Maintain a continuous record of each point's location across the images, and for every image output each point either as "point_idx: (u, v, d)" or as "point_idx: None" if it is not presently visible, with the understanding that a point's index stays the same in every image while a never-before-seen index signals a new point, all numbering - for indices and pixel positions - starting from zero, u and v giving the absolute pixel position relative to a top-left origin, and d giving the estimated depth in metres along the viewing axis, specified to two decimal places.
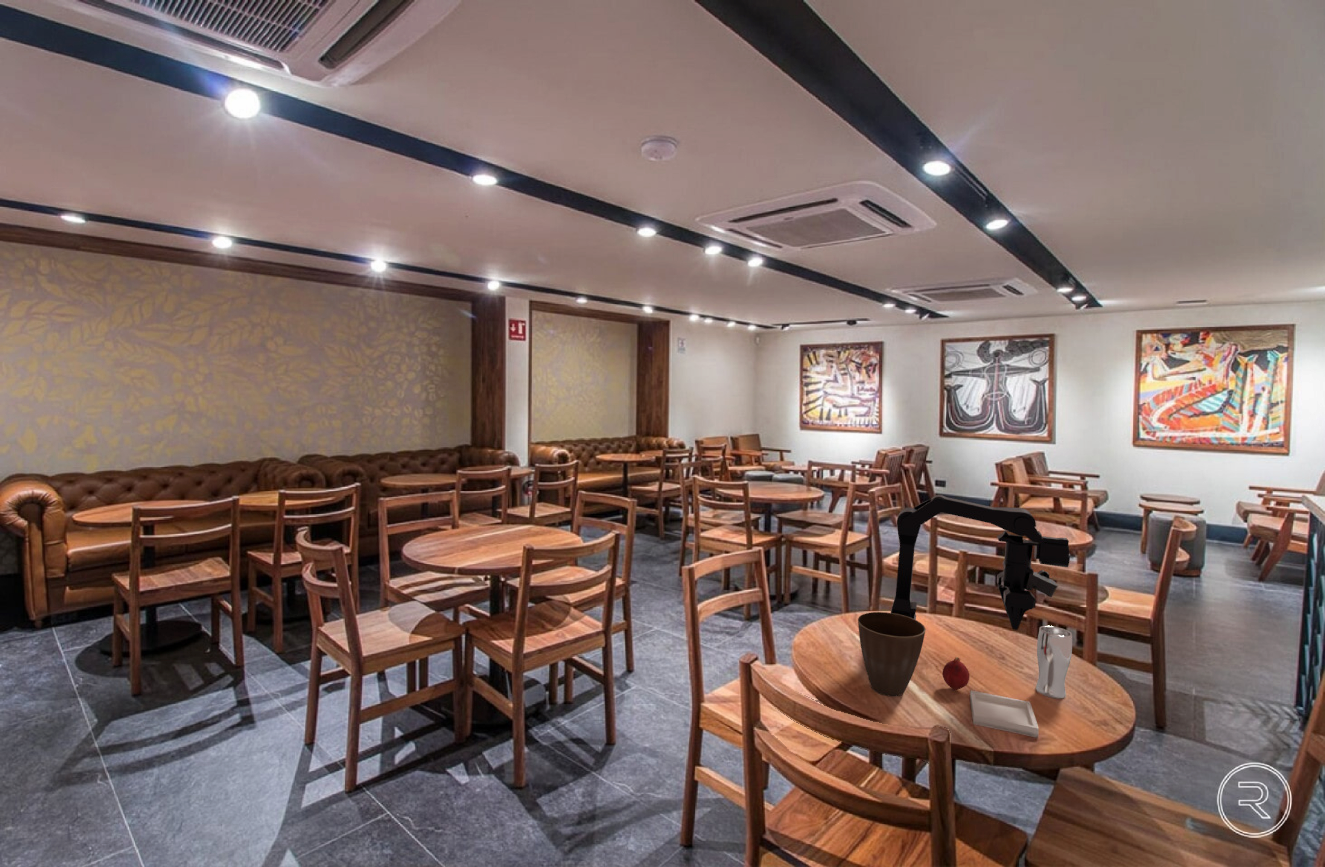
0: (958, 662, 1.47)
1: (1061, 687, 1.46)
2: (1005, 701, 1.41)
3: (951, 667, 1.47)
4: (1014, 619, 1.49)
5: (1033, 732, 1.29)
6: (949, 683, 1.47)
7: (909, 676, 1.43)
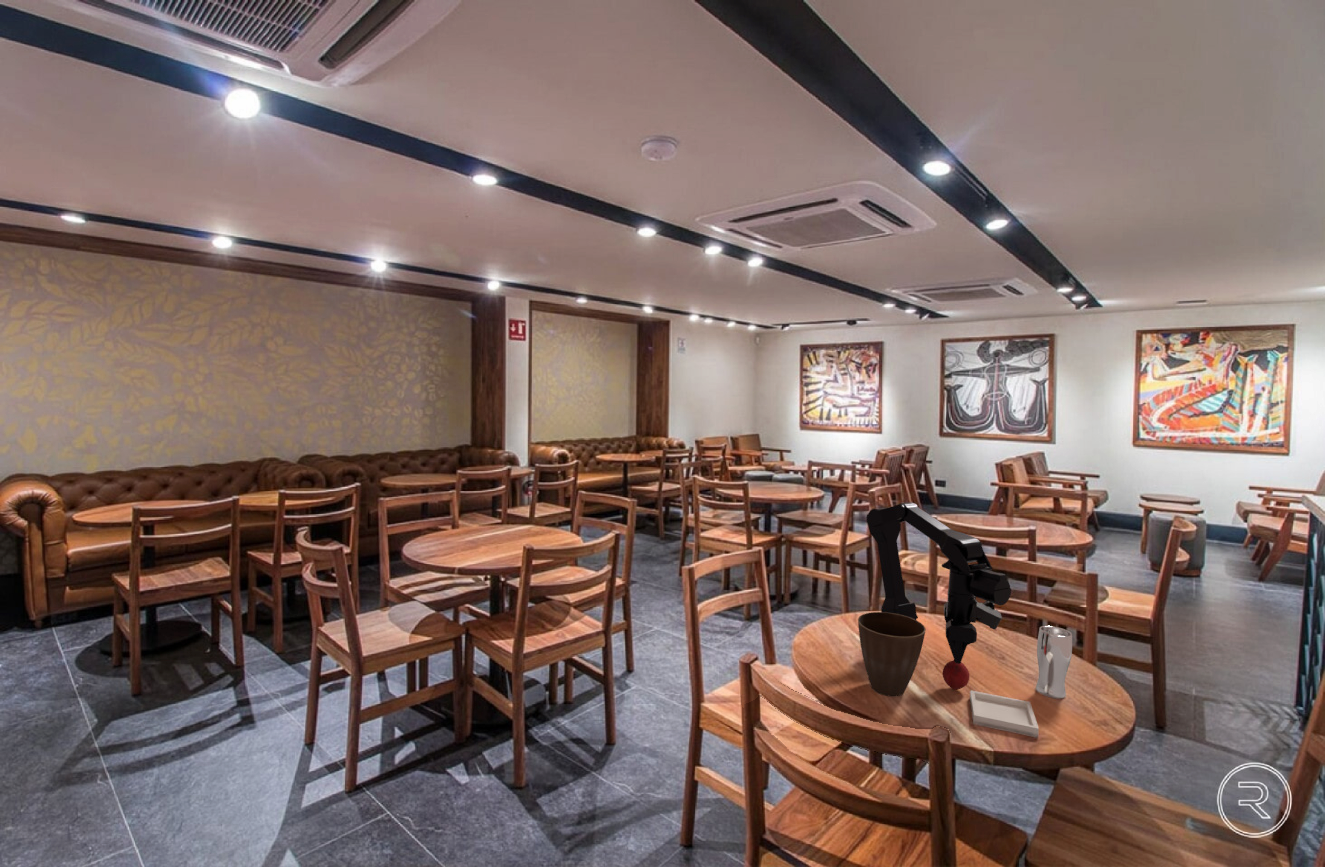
0: None
1: (1061, 687, 1.46)
2: (1005, 701, 1.41)
3: (951, 667, 1.47)
4: (956, 653, 1.43)
5: (1033, 732, 1.29)
6: (949, 683, 1.47)
7: (909, 676, 1.43)
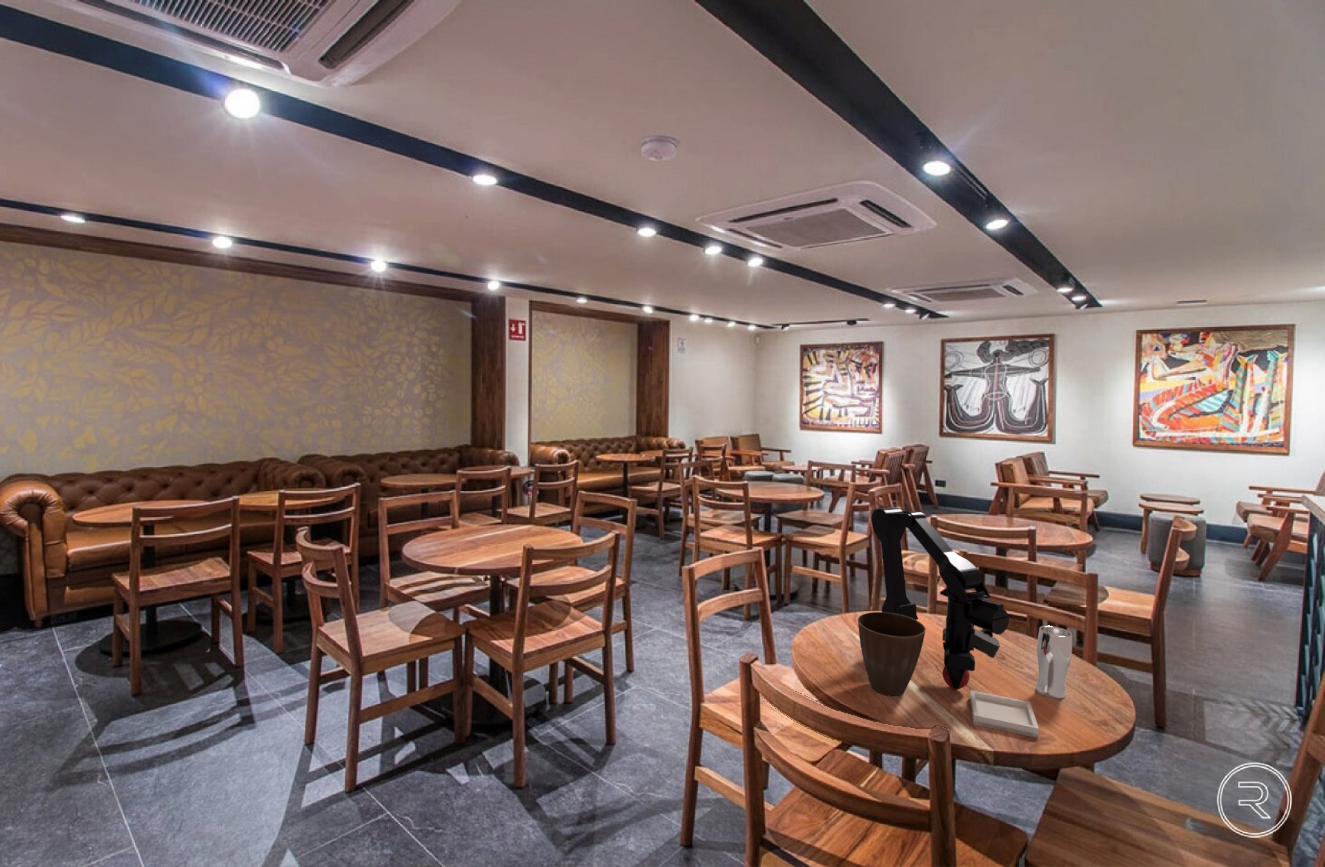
0: None
1: (1061, 687, 1.46)
2: (1005, 701, 1.41)
3: None
4: (954, 678, 1.45)
5: (1033, 732, 1.29)
6: (949, 683, 1.47)
7: (909, 676, 1.43)
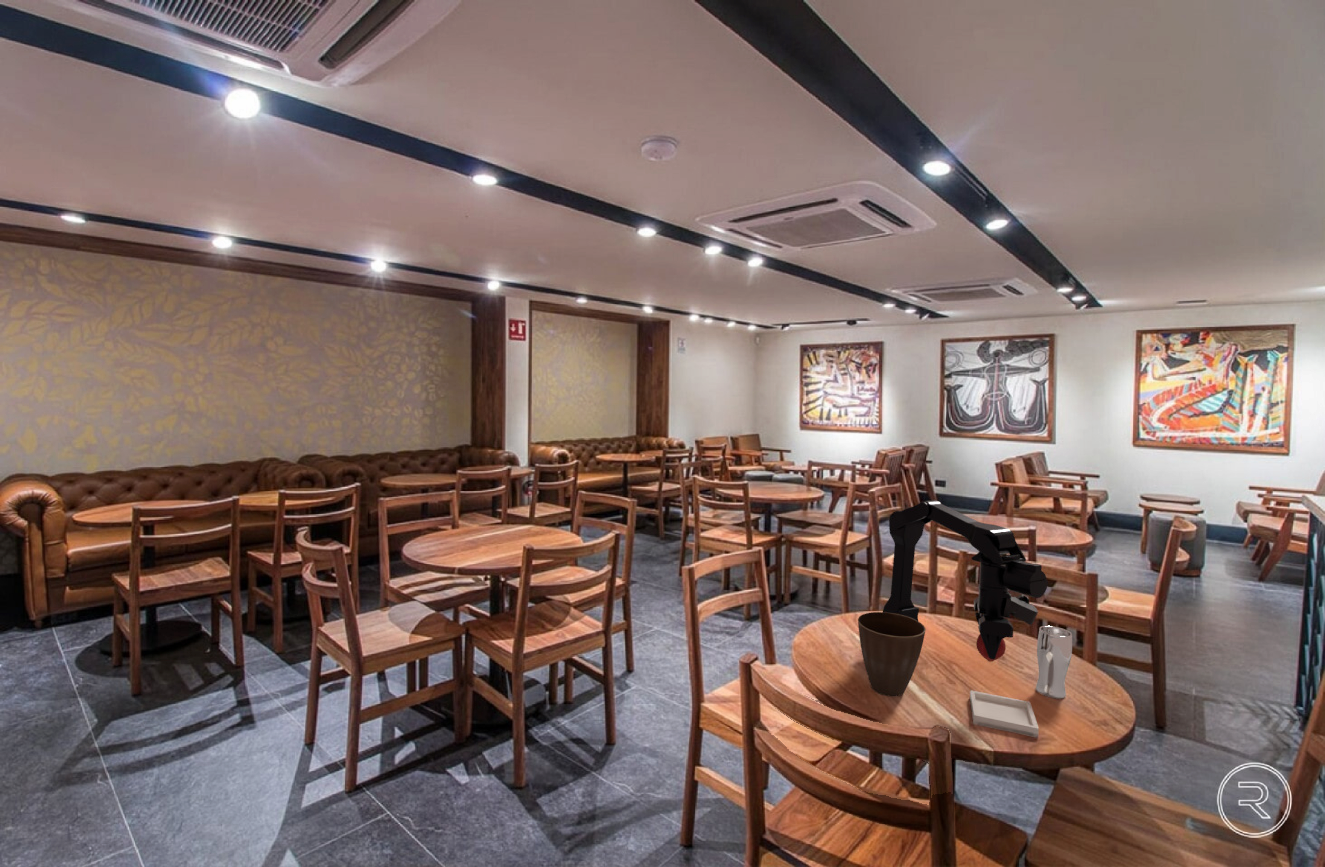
0: None
1: (1061, 687, 1.46)
2: (1005, 701, 1.41)
3: None
4: (990, 648, 1.36)
5: (1033, 732, 1.29)
6: (984, 654, 1.38)
7: (909, 676, 1.43)
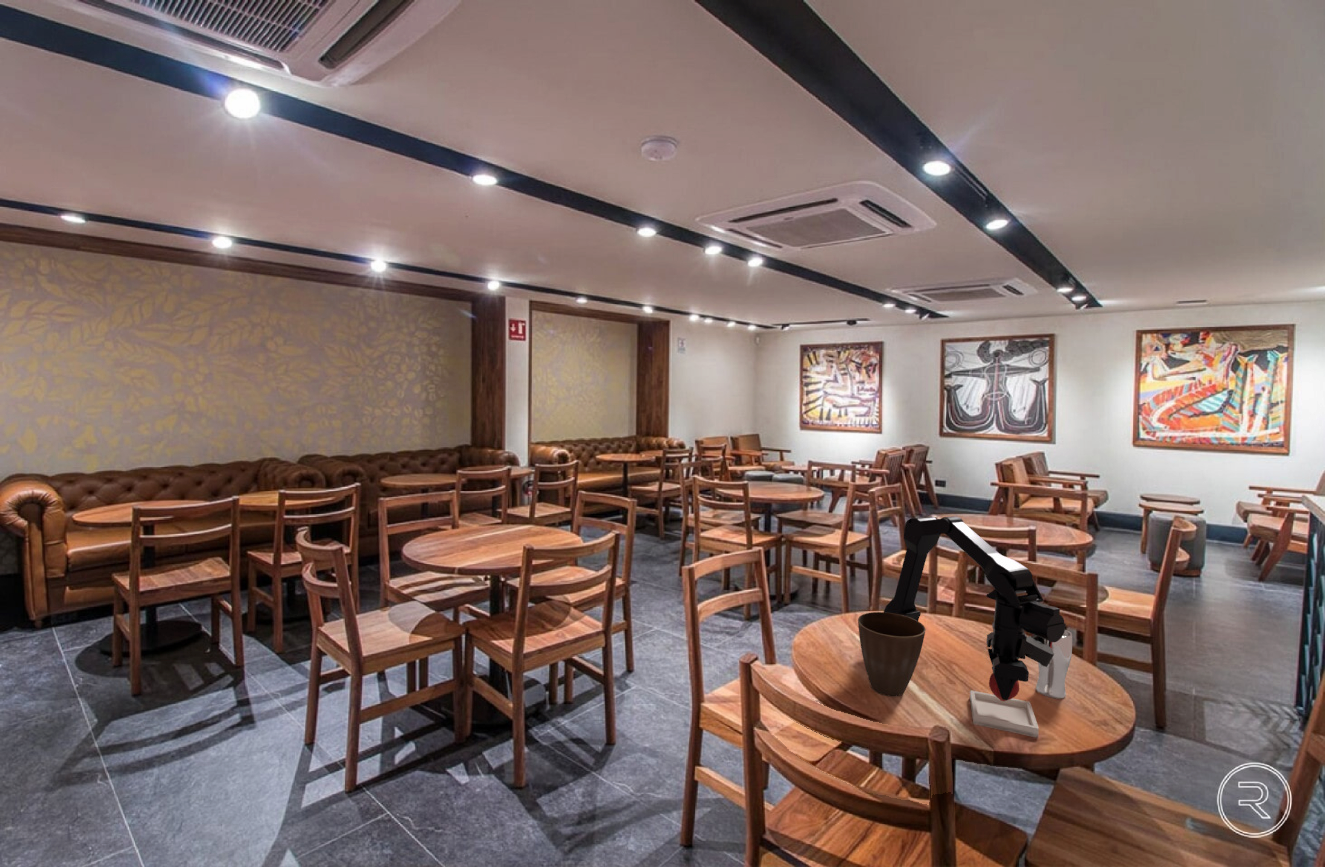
0: None
1: (1061, 687, 1.46)
2: (1005, 701, 1.41)
3: None
4: (1003, 689, 1.33)
5: (1033, 732, 1.29)
6: (997, 694, 1.35)
7: (909, 676, 1.43)
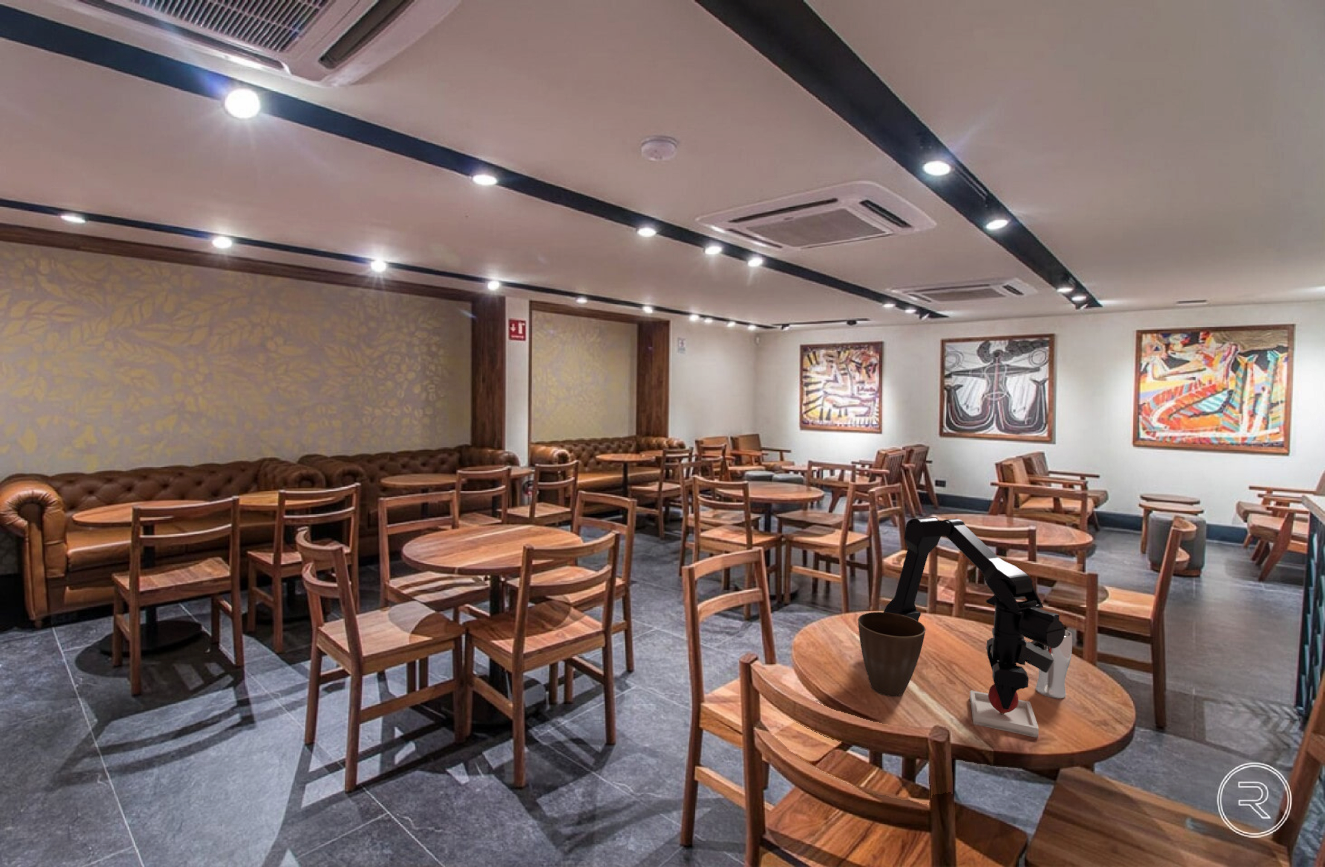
0: None
1: (1061, 687, 1.46)
2: None
3: None
4: (1004, 698, 1.32)
5: (1033, 732, 1.29)
6: (996, 707, 1.35)
7: (909, 676, 1.43)
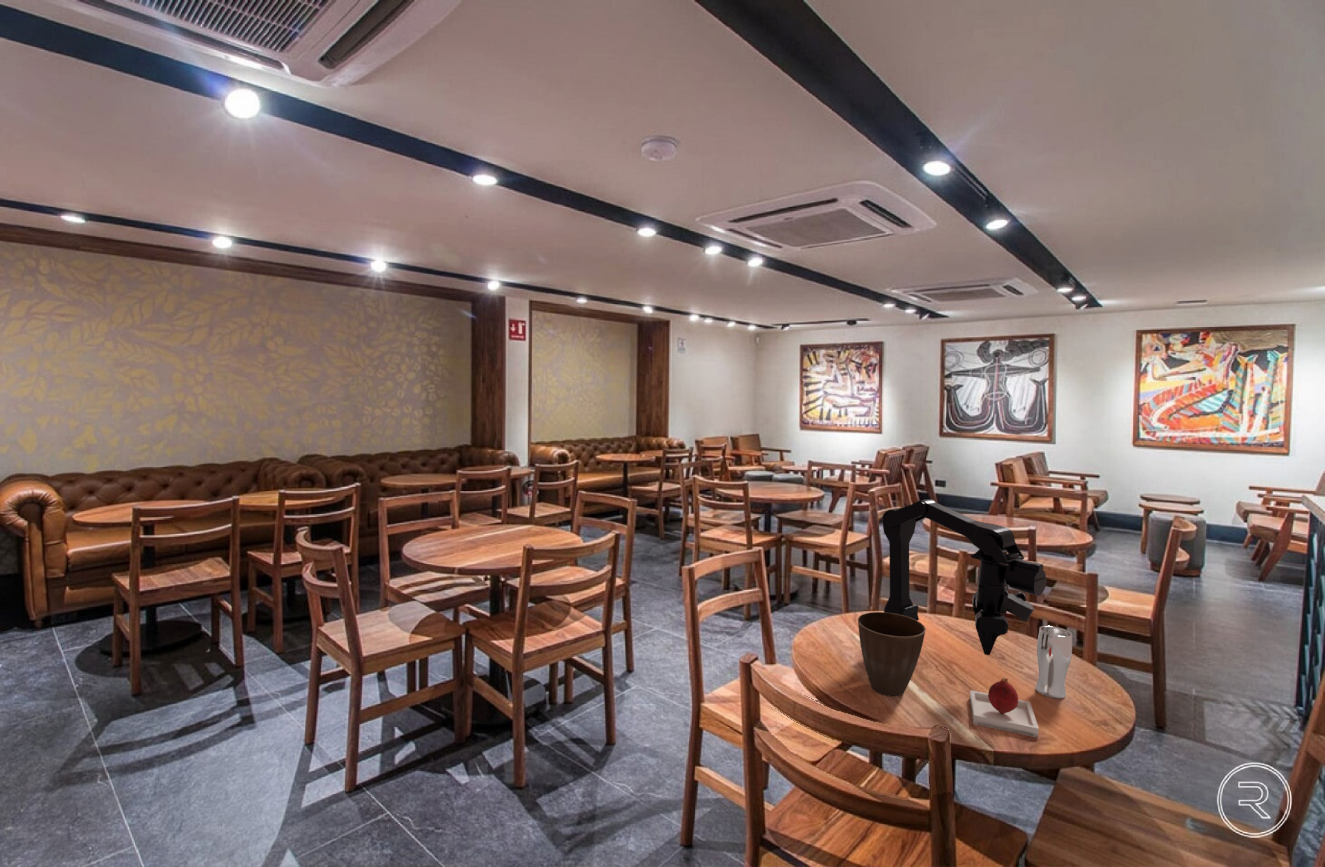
0: (1006, 683, 1.36)
1: (1061, 687, 1.46)
2: None
3: (998, 689, 1.35)
4: (985, 644, 1.40)
5: (1033, 732, 1.29)
6: (996, 706, 1.35)
7: (909, 676, 1.43)
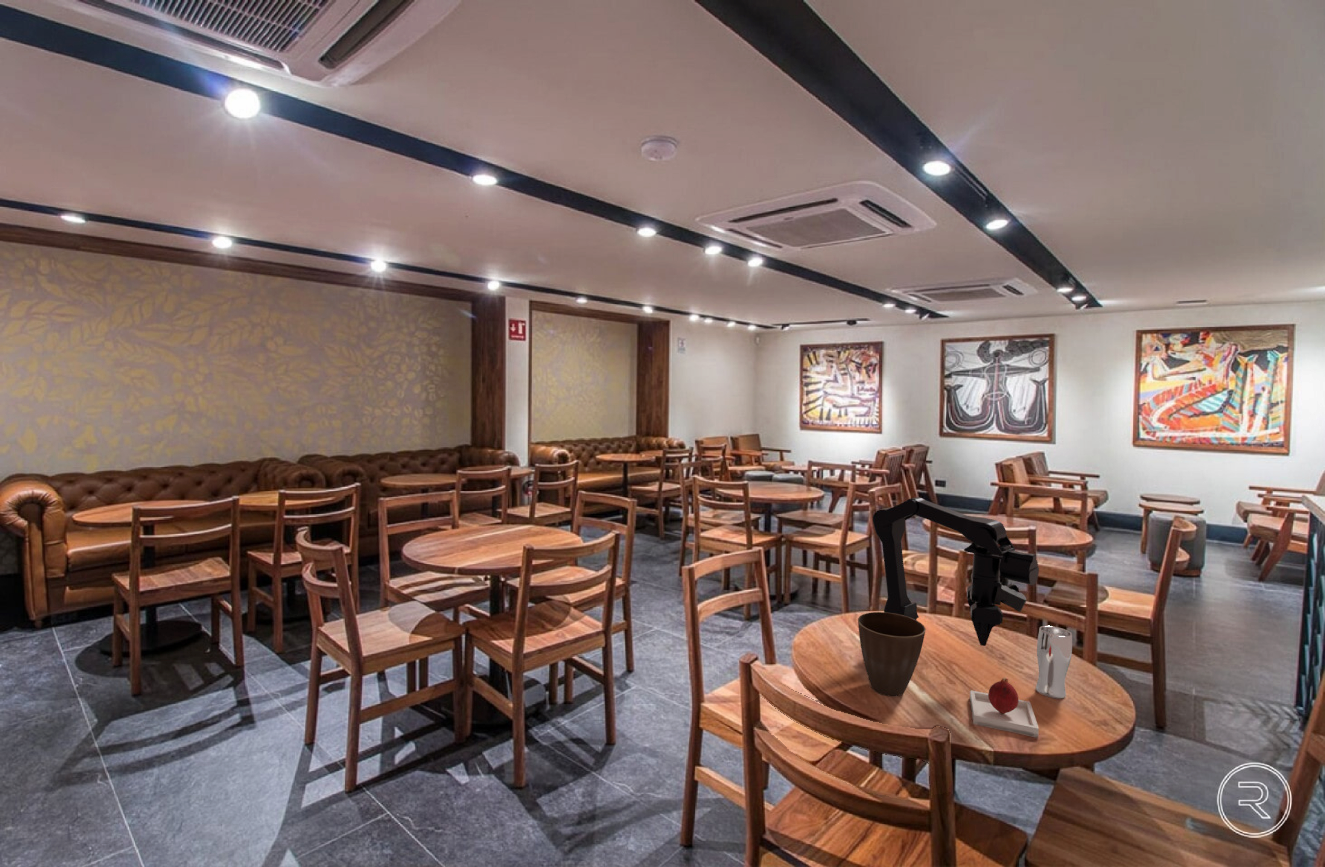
0: (1006, 683, 1.36)
1: (1061, 687, 1.46)
2: None
3: (998, 689, 1.35)
4: (981, 635, 1.43)
5: (1033, 732, 1.29)
6: (996, 706, 1.35)
7: (909, 676, 1.43)
